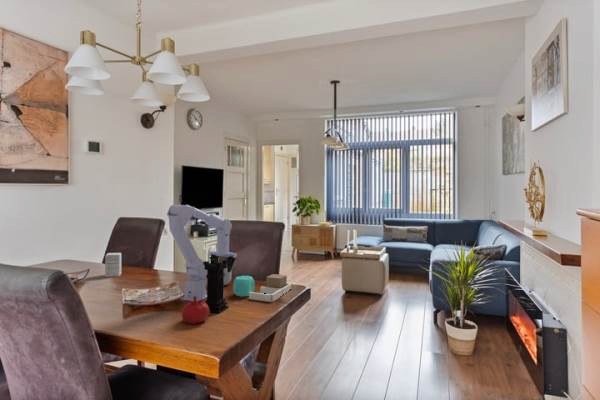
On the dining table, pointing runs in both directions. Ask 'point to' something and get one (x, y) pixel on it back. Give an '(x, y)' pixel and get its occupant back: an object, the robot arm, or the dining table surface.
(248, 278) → the decorative dice
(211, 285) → the chess piece
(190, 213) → the robot arm
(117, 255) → the supplement box
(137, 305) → the dining table surface
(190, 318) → the pomegranate
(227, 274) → the teacup
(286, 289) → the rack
